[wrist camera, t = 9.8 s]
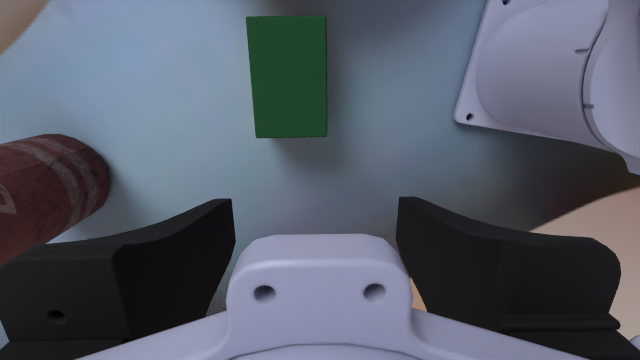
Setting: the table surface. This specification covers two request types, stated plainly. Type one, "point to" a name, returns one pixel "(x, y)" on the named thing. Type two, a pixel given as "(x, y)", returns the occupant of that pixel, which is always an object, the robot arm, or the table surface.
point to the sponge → (288, 75)
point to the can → (46, 189)
